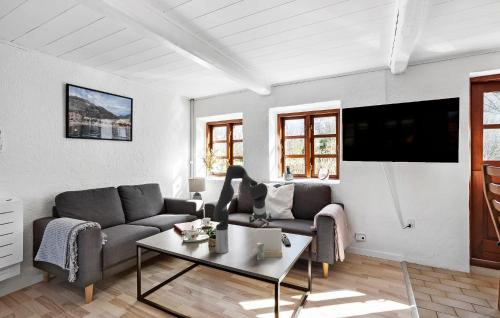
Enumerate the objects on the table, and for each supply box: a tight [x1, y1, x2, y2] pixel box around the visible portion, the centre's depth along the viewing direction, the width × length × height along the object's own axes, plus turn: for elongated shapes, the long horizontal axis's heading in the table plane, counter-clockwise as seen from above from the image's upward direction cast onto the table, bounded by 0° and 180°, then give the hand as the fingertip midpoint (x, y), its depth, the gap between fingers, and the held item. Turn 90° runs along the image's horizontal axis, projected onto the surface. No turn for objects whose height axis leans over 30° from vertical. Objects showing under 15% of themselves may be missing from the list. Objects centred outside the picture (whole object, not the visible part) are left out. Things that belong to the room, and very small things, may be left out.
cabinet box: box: [256, 242, 266, 261], centre depth 175 cm, size 5×3×11 cm, turn 85°
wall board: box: [256, 228, 283, 258], centre depth 183 cm, size 18×8×18 cm, turn 85°
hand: (260, 225), depth 164 cm, fingers open, 8 cm apart
